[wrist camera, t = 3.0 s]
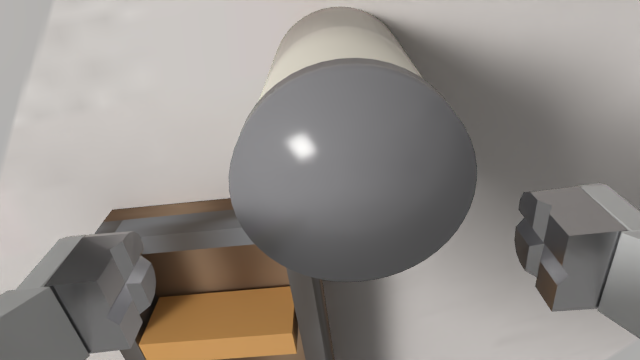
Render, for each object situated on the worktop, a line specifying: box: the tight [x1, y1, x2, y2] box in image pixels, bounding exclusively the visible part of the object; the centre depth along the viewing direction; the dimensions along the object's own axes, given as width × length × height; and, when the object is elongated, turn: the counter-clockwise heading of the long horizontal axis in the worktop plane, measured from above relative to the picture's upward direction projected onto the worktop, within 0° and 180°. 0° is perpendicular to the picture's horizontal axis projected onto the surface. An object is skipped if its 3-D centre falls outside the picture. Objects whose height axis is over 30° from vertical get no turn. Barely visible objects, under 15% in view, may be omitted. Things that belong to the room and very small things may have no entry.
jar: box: [229, 7, 477, 282], centre depth 14 cm, size 6×6×9 cm
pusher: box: [139, 286, 298, 360], centre depth 21 cm, size 7×2×3 cm, turn 97°
